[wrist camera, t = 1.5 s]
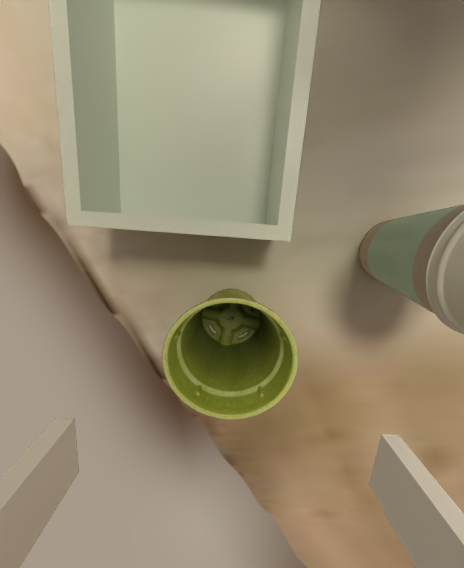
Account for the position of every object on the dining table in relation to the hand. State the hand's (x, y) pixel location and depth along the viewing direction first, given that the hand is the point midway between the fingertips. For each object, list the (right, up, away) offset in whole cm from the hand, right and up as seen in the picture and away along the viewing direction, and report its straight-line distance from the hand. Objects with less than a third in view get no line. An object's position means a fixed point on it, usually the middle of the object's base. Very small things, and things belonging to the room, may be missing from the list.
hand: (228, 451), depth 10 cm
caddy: (-3, +22, +10) cm, 25 cm away
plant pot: (0, +4, +15) cm, 15 cm away
